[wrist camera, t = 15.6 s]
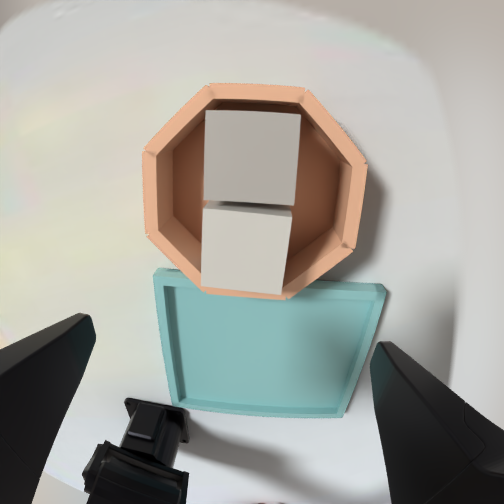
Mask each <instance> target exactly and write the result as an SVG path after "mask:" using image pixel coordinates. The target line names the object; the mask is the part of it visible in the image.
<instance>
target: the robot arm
mask: <svg viewBox="0 0 504 504" xmlns="http://www.w3.org/2000/svg"><path fill="white" fill-rule="evenodd" d="M95 342H96V333H95V330H94V326H93V322H92V319H91V317H90V315H88V314H83V313H78V314H75V315H73V316H71V317H69V318H67V319H64V320H62V321H60V322H58V323H56V324H54V325H52V326H49V327H47V328H45V329H43V330H41V331H39V332H37V333H34V334H32V335H30V336H28V337H26V338H24V339H22V340H19V341H17V342H15V343H13V344H11V345H9V346H7V347H5V348H3V349H0V504H32V501H33V497H34V495H35V492H36V489H37V486H38V483H39V480H40V477H41V474H42V471H43V469H44V466H45V463H46V461H47V458H48V456H49V453H50V450H51V448H52V445H53V443H54V441H55V438H56V436H57V433H58V431H59V428H60V426H61V424H62V421H63V419H64V417H65V415H66V412H67V410H68V408H69V406H70V403H71V401H72V399H73V397H74V395H75V392H76V390H77V388H78V386H79V384H80V382H81V379H82V377H83V374H84V372H85V369H86V366H87V363H88V361H89V358H90V355H91V352H92V350H93V347H94V344H95ZM370 374H371V382H372V391H373V401H374V410H375V415H376V420H377V424H378V429H379V434H380V439H381V444H382V449H383V455H384V460H385V466H386V472H387V477H388V484H389V490H390V497H391V503H392V504H504V430H502V429H501V428H500V427H498V426H497V425H495V424H494V423H492V422H491V421H489V420H488V419H487V418H485V417H484V416H483V415H481V414H480V413H479V412H478V411H476V410H475V409H474V408H473V407H471V406H470V405H469V404H468V403H465V401H464V400H463V399H462V398H460V397H459V396H458V395H457V394H456V393H454V392H453V391H452V390H451V389H449V388H448V387H447V386H446V385H444V384H443V383H442V382H441V381H440V380H438V379H437V378H436V377H435V376H433V375H432V374H431V373H430V372H428V371H427V370H426V369H425V368H423V367H422V366H421V365H420V364H419V363H417V362H416V361H415V360H414V359H412V358H411V357H410V356H409V355H407V354H406V353H405V352H404V351H402V350H401V349H400V348H399V347H397V346H396V345H395V344H394V343H392V342H390V341H380V342H378V343H377V345H376V348H375V351H374V353H373V356H372V359H371V362H370ZM124 403H125V406H126V409H127V411H128V414H129V417H130V421H129V424H128V426H127V429H126V431H125V434H124V436H123V438H122V441H121V443H120V446H119V447H118V446H115V445H113V444H111V443H110V442H109V441H106V440H105V442H104V444H98V445H97V447H96V450H95V452H94V454H93V456H92V458H91V459H90V461H89V463H88V464H87V466H86V467H85V469H84V471H83V473H82V476H83V478H84V480H85V483H84V485H85V488H84V492H86V493H88V494H90V495H89V498H88V501H87V504H186V498H187V488H188V479H189V473H188V472H185V471H183V472H182V471H179V470H176V469H173V466H174V462H175V458H176V454H177V450H178V447H179V443H180V442H181V443H188V442H189V434H188V429H187V424H186V418H185V412H184V410H183V409H180V408H175V407H169V406H164V405H159V404H153V403H148V402H144V401H139V400H134V399H130V398H126V399H125V401H124Z"/></svg>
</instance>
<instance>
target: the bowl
mask: <svg viewBox="0 0 504 504" xmlns="http://www.w3.org/2000/svg"><path fill="white" fill-rule="evenodd" d="M206 110H230V111H258V112H275V113H288V114H300V115H301V122H300V137H299V151H298V164H297V177H296V188H295V200H294V205H290V209H291V214H292V223H291V230H290V237H289V244H288V251H287V258H286V265H285V272H284V278H283V285H282V291H281V295H276V294H267V293H257V292H248V291H239V290H230V289H221V288H213V287H205V286H201V253H202V221H203V208H204V206H205V205H206V204H207V203H208V201H209V200H204V146H205V115H206ZM144 149H145V150H146V151H142V174H143V202H144V221H145V234H149V235H148V236H147V237H148V238H149V239H150V241H151V242H152V243H153V244H154V245H155V246H156V247H157V248H158V249H159V250H160V251H161V252H162V253H163V254H164V255H165V256H166V257H167V258H168V259H169V260H170V261H171V262H172V263H173V264H174V265H175V266H176V267H177V268H178V269H180V270H181V271H182V272H183V273H184V274H185V275H186V276H187V277H188V278H189V279H190V280H191V281H192V282H193V283H194V284H195V285H196V286H197V287H198V288H199V289H200V290H201V291H202V292H205V291H206V294H213V295H225V296H237V297H249V298H262V299H276V300H285V299H286V297H287V298H288V299H290V298H291V297H292V296H294V295H295V294H297V293H298V292H299V291H301V290H302V289H304V288H305V287H306V286H308V285H309V284H310V283H312V282H313V281H315V280H316V279H317V278H319V277H320V276H321V275H323V274H324V273H325V272H327V271H328V270H329V269H331V268H332V267H333V266H335V265H336V264H337V263H339V262H340V261H341V260H343V259H344V258H345V257H347V256H348V255H349V254H351V253H352V252H353V250H352V248H353V249H355V246H356V241H357V235H358V229H359V223H360V217H361V211H362V204H363V197H364V190H365V183H366V175H367V167H368V165H367V164H365V162H366V159H365V158H364V157H363V155H362V154H361V153H360V151H359V150H358V149H357V147H356V146H355V145H354V143H353V142H352V141H351V140H350V138H349V137H348V136H347V135H346V133H345V132H344V131H343V130H342V128H341V127H340V126H339V125H338V123H337V122H336V121H335V120H334V119H333V117H332V116H331V115H330V114H329V113H328V111H327V110H326V109H325V108H324V107H323V106H322V104H321V103H320V102H319V101H318V100H317V99H316V98H315V96H314V95H313V94H312V93H311V92H310V91H309V90H307V91H306V92H305V88H302V87H292V86H280V85H264V84H239V83H210V87H209V86H207V85H205V86H204V87H203V88H202V89H201V90H200V91H199V92H198V93H197V94H196V95H195V96H194V97H192V98H191V99H190V100H189V101H188V102H187V103H186V104H185V105H184V106H183V107H182V108H181V109H180V110H179V111H178V112H177V113H176V114H175V115H174V116H173V117H172V118H171V119H170V120H169V121H168V122H167V123H166V124H165V125H164V126H163V127H162V129H161V130H160V131H159V132H158V133H157V134H156V135H155V136H154V137H153V138H152V139H151V140H150V141H149V143H148V144H147V145H146V146H145V147H144Z"/></svg>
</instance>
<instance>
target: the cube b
mask: <svg viewBox="0 0 504 504" xmlns="http://www.w3.org/2000/svg"><path fill="white" fill-rule="evenodd" d="M300 122H301V115H300V114H288V113H275V112H258V111H230V110H206V115H205V146H204V200H215V201H234V202H251V203H266V204H280V205H294V200H295V188H296V177H297V164H298V151H299V137H300Z"/></svg>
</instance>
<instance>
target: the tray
mask: <svg viewBox="0 0 504 504" xmlns="http://www.w3.org/2000/svg"><path fill="white" fill-rule="evenodd" d="M153 282H154V291H155V300H156V308H157V316H158V323H159V331H160V338H161V344H162V351H163V357H164V363H165V369H166V375H167V380H168V385H169V391H170V396H171V401H172V406H176V407H182V408H188V409H195V410H202V411H210V412H218V413H227V414H237V415H248V416H262V417H281V418H342V417H343V415H344V413H345V410H346V408H347V406H348V403H349V401H350V398H351V396H352V393H353V391H354V388H355V386H356V383H357V381H358V378H359V375H360V373H361V370H362V367H363V365H364V362H365V359H366V356H367V353H368V351H369V348H370V345H371V342H372V339H373V336H374V333H375V330H376V326H377V323H378V320H379V317H380V314H381V310H382V307H383V303H384V300H385V296H386V293H387V292H386V290H385V289H384V287H383V285H382V284H373V283H355V282H338V281H321V280H315V281H313V282H312V283H310V284H309V285H308V286H306V287H305V288H304V289H302V290H301V291H299V292H298V293H297V294H295V295H294V296H292V297H291V298H290V299H288V298H287V297H286V299H285V300H276V299H262V298H249V297H237V296H225V295H213V294H206V291H205V292H202V291H201V290H200V289H199V288H198V287H197V286H196V285H195V284H194V283H193V282H192V281H191V280H190V279H189V278H188V277H187V276H186V275H185V274H184V273H183V272H182V271H181V270H177V269H166V268H158V269H157V271H156V272H155V273H154V275H153Z"/></svg>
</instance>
